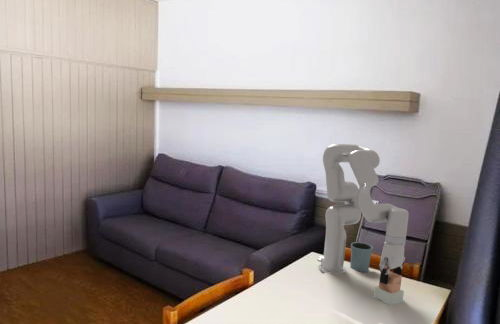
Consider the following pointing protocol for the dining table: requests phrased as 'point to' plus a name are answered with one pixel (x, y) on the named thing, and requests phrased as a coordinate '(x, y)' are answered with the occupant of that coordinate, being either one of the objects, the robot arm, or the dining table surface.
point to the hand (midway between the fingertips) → (390, 280)
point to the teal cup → (360, 256)
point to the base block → (388, 295)
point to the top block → (391, 283)
